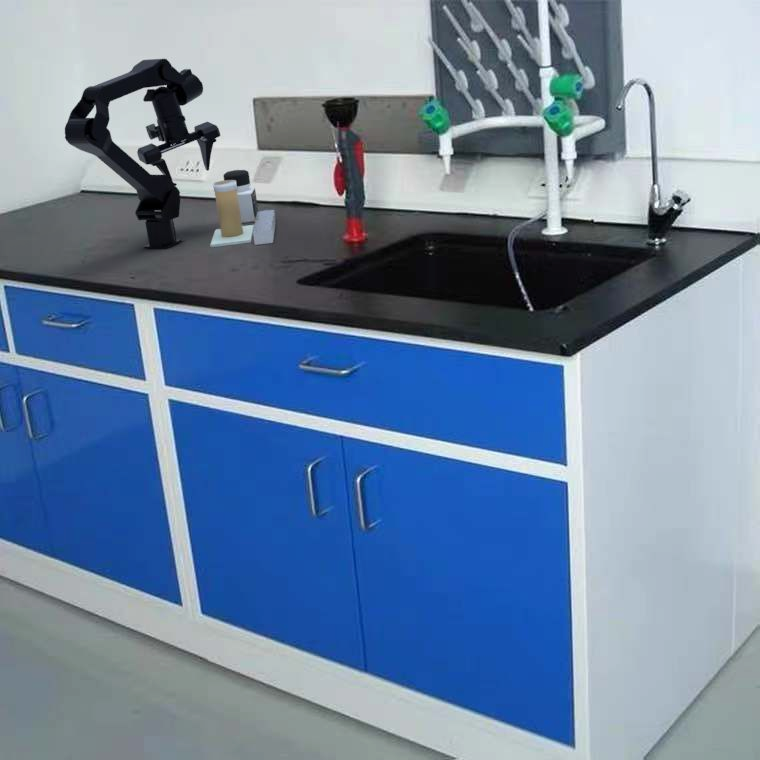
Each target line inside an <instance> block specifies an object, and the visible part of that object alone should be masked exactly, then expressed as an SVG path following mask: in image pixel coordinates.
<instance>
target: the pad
mask: <svg viewBox="0 0 760 760" xmlns="http://www.w3.org/2000/svg"><path fill="white" fill-rule="evenodd" d="M242 227H243V234H242V235H239V236H235V237H222V236H221V229H220V228H217V229H215V230H214V233H213V236H212V238H211V242H210V245H209V246H210V248H217V247H218V248H219V247H224V246H225V247H227V246H233V245H241V244H251V243H252V239H253V237H254V236H253V229H254V224H250V225H248V224H247V225H242Z"/></svg>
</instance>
